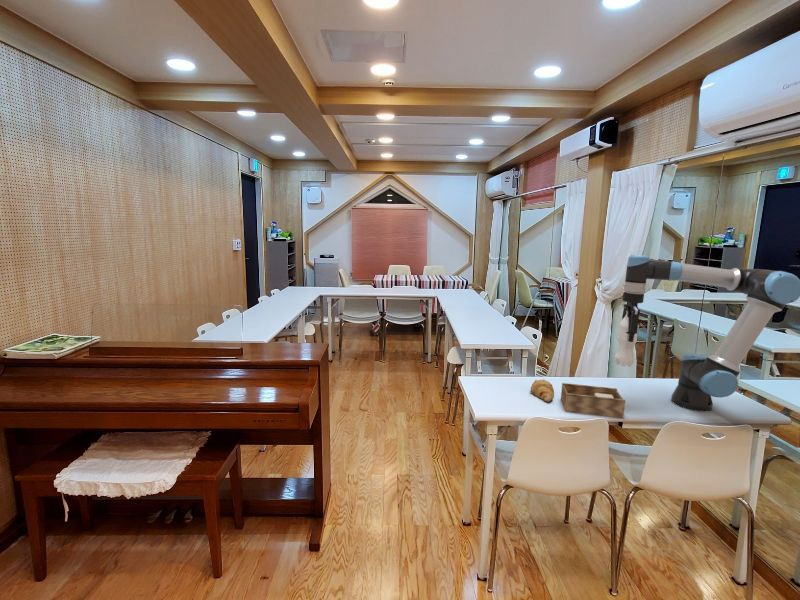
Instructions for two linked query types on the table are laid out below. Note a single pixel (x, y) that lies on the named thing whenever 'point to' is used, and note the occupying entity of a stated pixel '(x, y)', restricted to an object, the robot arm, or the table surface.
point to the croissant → (543, 390)
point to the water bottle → (623, 354)
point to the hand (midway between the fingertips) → (626, 346)
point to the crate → (592, 400)
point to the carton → (603, 395)
